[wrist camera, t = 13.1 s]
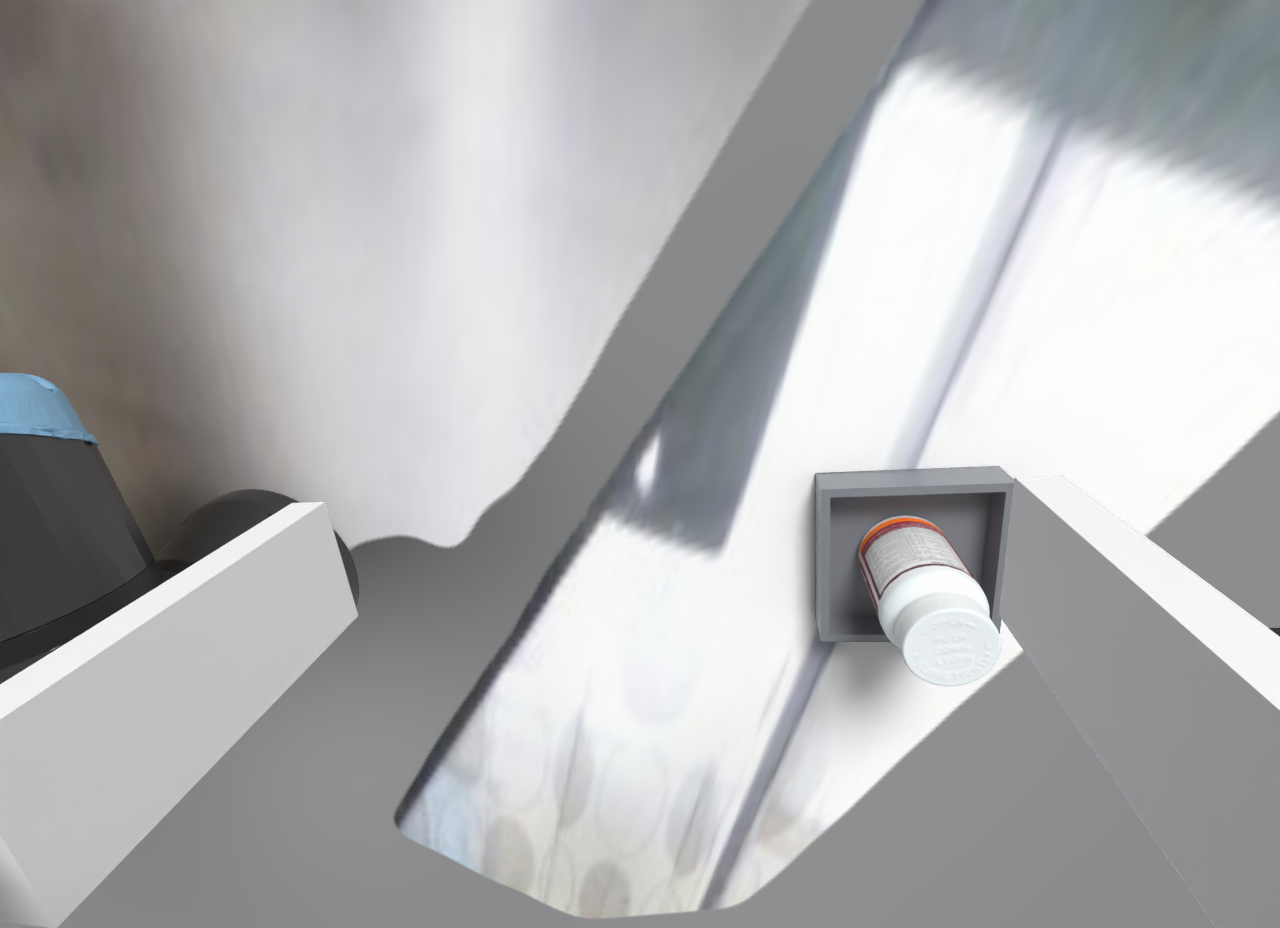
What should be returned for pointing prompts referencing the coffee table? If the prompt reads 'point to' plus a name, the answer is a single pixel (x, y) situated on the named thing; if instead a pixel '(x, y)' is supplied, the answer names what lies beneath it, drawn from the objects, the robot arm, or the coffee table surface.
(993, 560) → the tray
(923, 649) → the pill bottle
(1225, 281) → the coffee table surface
